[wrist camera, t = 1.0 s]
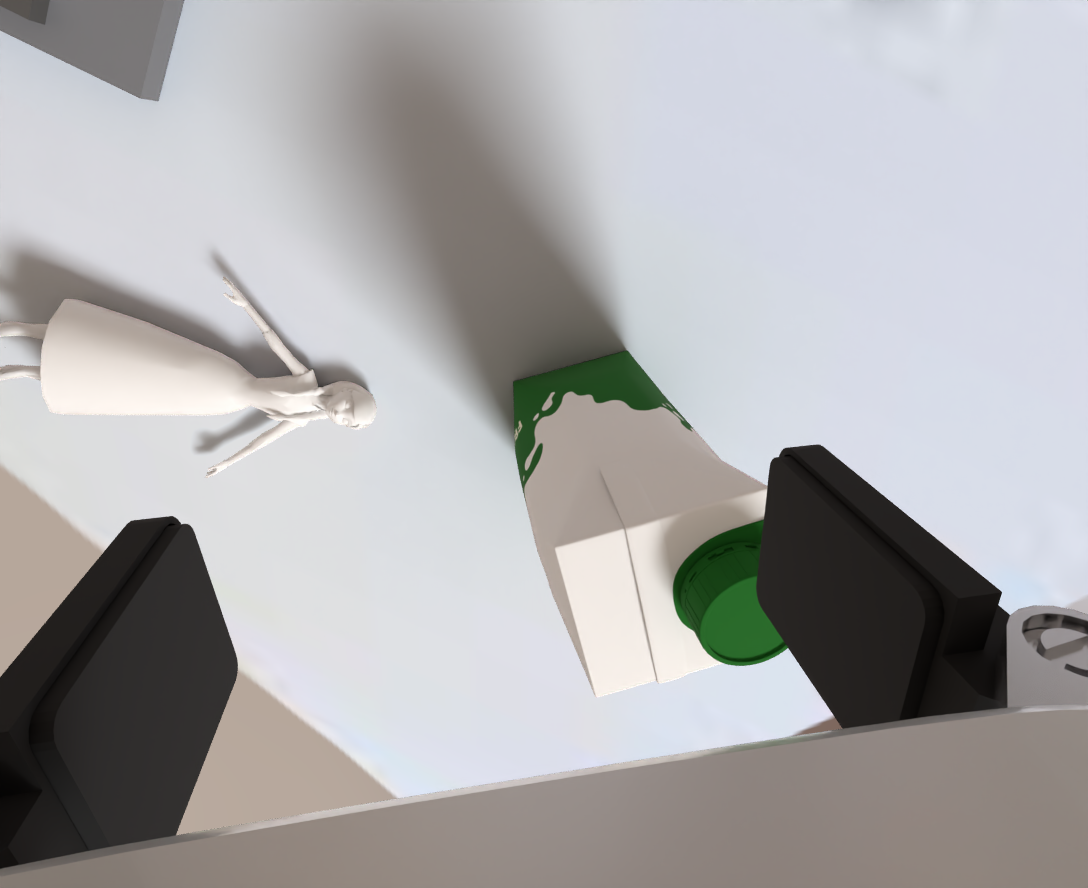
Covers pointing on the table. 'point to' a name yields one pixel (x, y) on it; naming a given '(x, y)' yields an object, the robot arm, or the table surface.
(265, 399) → the woman figurine
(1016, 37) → the table surface
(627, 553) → the milk carton
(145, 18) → the console
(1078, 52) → the table surface
